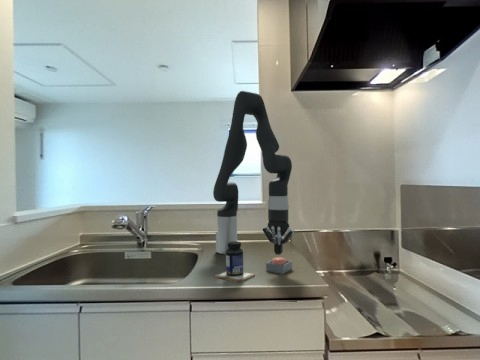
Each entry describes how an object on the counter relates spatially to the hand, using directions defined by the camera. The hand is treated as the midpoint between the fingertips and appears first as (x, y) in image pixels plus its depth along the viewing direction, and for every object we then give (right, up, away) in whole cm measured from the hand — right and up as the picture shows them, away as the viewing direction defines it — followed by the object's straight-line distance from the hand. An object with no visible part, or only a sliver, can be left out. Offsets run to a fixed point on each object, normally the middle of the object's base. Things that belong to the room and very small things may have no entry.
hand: (278, 254), depth 110 cm
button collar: (0, -6, 0) cm, 6 cm away
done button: (0, -6, 0) cm, 6 cm away
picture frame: (-16, -6, -7) cm, 19 cm away
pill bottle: (-16, -5, -7) cm, 19 cm away
